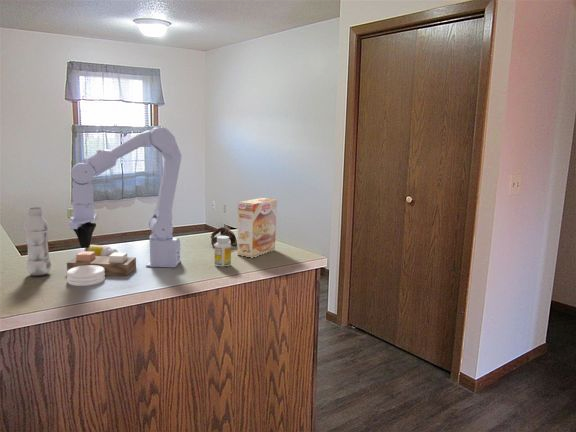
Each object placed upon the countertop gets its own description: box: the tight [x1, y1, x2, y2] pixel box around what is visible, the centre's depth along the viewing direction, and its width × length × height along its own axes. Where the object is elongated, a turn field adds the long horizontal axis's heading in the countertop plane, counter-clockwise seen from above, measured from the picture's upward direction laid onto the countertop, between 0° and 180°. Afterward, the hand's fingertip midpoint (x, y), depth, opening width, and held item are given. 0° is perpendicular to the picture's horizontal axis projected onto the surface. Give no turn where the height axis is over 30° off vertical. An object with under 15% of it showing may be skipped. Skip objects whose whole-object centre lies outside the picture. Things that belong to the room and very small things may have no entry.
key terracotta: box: [75, 250, 95, 262], centre depth 142 cm, size 4×4×3 cm
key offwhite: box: [109, 251, 128, 263], centre depth 142 cm, size 4×4×3 cm
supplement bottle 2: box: [213, 235, 232, 267], centre depth 152 cm, size 5×5×10 cm
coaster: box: [66, 265, 106, 287], centre depth 133 cm, size 10×10×4 cm
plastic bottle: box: [23, 206, 52, 276], centre depth 135 cm, size 6×7×20 cm
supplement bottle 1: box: [83, 244, 119, 257], centre depth 151 cm, size 5×5×10 cm
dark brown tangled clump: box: [210, 226, 238, 247], centre depth 179 cm, size 12×10×8 cm
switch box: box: [66, 256, 137, 277], centre depth 142 cm, size 18×8×4 cm, turn 90°
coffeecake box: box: [237, 197, 278, 259], centre depth 167 cm, size 15×7×20 cm, turn 148°
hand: (85, 247), depth 141 cm, fingers closed
